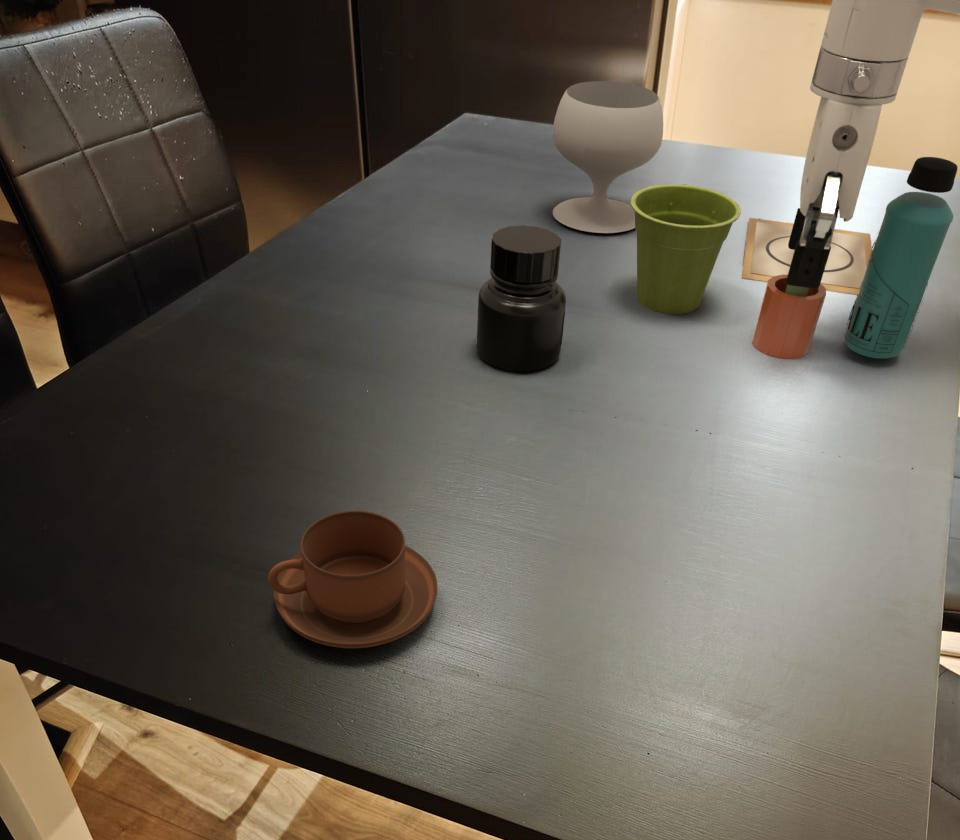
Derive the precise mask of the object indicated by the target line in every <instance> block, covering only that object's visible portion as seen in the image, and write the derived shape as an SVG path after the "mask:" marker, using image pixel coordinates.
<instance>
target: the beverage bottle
mask: <svg viewBox="0 0 960 840" xmlns="http://www.w3.org/2000/svg"><path fill="white" fill-rule="evenodd" d="M958 167H959V166H958V165H957V164H956V163H955V162H953V161H951V160H949V159H946V158H942V157H935V156H921V157H919V158H917V159H916V160H915V161H914V163H913V165H912V167H911V170H910V172H909V174H908V176H907V179H906V183H907V185H908V186H910V187H911V188H914V189H916V190H918V191H908V192H905V193H902V194H900V195H899V196H897V197H895V198H894V199H892V200H890V202H888V203H887V205H886V207H885V213H884V216H883V219H882V222H881V225H880V228H879V230H878V233H877V234H876V235H875V238H876V239H875V241H873V243H872V250H871V251H872V253H870V254H871V255H869V258H870V260H869V261H868V262H869V263H868V262H867V263H868V266H867V269H866V272H865V275H864V278H863V281H862V283H860V284H861V286H860V290H859V294H858V295H856V297H855V300H854V301H853V305H852V308H851V310H850V312H849V315H848V322H847V323H846V327H845V329H844V330H845V332H844V333H843V335H844V344H845V345H846V347H847V348H848V349H849V350H851V351H853V352H854V353H857V354H859V355H861V356H864V357H867V358H871V359H892V358H896V357H897V356H899V355H900V354H901V352H902V351H903V349H905V348H907V344H908V339H910V336H911V334H912V332H913V331H912V330H913V328H914V325H915V323H916V317H917V314H919V312H920V310H919V309H920V306H922V303H923V301H924V298H925V297H924V296H925V293H926V290H927V288H928V285H929V280H930V277H931V275H932V273H933V269H934V267H935V264H936V262H937V259H938V257H939V254H940V252H941V249H942V246H943V244H944V241H945V238H946V236H947V234H948V231H949V228H950V226H951V224H952V222H953V220H954V213H953V211H952V209H951V207H950V205H949V204H948V203H947V201H946V200H945V198H943V197H941V196H939V195H936V194H941V193H942V194H944V193H948V192H951V191H952V190H953V187H954V185H955V179H956V175H957V174H958ZM933 193H934V194H933ZM935 193H936V194H935ZM866 265H867V264H866Z"/></svg>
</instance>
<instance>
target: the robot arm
mask: <svg viewBox="0 0 960 840" xmlns="http://www.w3.org/2000/svg"><path fill="white" fill-rule="evenodd" d="M926 10H931V11H938V12H942V13H948V14H952V15H957V16H960V0H832V1H831V5H830V9H829V13H828V16H827V21H826V24H825V29H824V33H823V37H822V40H821V44H820V48H819V51H818V55H817V60H816V62H815V67H814V71H813V75H812V79H811V82H810V86H809V89H810V91H811V92H812V93H813V94H815V95H816V96H819V97H820V100H819V104H818V107H817V110H816V116H815V119H814V123H813V126H812V129H811V130H812V131H811V135H810V140H809V141H808V142H809V143H808V147H807V150H806V156H805V160H804V165H803V171H802V177H801V183H800V194H799V207H798V208H797V210H796V214H795V216H794V217H795V218H794V221H793V228H792V232H791V235H790V239H789V243H788V247H789V249H792V250H795V251H794V254H793V258H792V261H791V265H790V269H789V272H788V276H787V284H788V285H792V286H799V287H806V288H813V289H817V288H818V287H819V286H820V283H821V280H822V276H823V273H824V270H825V266H826V263H827V260H828V257H829V253H830V250H831V247H830V245H831V241H832V237H833V233H834V229H836V223H837V219H838V215H839V219H843V222H845V223H847V222H850V220H852V219H853V217H854V214H855V210H856V207H857V202H858V199H859V195H860V192H861V189H862V184H863V181H864V177H865V174H866V171H867V166H868V164H869V159H870V156H871V153H872V150H873V145H874V141H875V137H876V134H877V129H878V125H879V122H880V116H881V113H882V108H883V105H887V104H891V103H893V102H895V100H896V98H897V95H898V92H899V88H900V86H901V83H902V78H903V76H904V73H905V69H906V66H907V63H908V60H909V56H910V54H911V51H912V47H913V44H914V41H915V38H916V35H917V33H918V30H919V29H918V28H919V26H920V23H921V20H922V17H923V12H924V11H926ZM801 234H802V236H801ZM800 238H801V240H800ZM799 241H800V242H799Z"/></svg>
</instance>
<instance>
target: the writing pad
mask: <svg viewBox="0 0 960 840" xmlns="http://www.w3.org/2000/svg"><path fill="white" fill-rule="evenodd" d="M793 224H794V222H792V223H791V222H784V221H777V220H771V219H761V218H756V217H755V218H754V217H749V218H748V223H747V230H746V238H745V245H744V253H743V261H742V271H741V279H742V280H747V281H748V280H749V281H754V282H763V283H767V281H768V280H769V279H770V278H772V277H774V276H778V275H788V272H789V269H790V265H791V261H792V258H793V254H794V251H795V250H792V249H789V247H788V243H789V239H790V235H791V232H792V228H793ZM872 246H873V244H872V237H871V233H867V232H862V231H861V232H859V231H852V230H845V229H837V228H834V233H833V237H832V241H831V245H830V247H831V250H830V253H829V257H828V260H827V263H826V266H825V270H824V273H823V276H822V280H821V284H822V285H823V286H824V287H825V288H826V292H833V293H838V294H846V295H854V296H857V295H858V294H859V290H860V286H861V284H860V283H862V281H863V278H864V275H865V272H866V269H867V266H868V263H869V262H868V261H869V260H870V258H869V255H871V254H870V253H872V251H871V250H872V249H873V248H872ZM867 262H868V263H867ZM866 264H867V265H866Z"/></svg>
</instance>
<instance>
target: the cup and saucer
mask: <svg viewBox="0 0 960 840" xmlns="http://www.w3.org/2000/svg"><path fill="white" fill-rule="evenodd" d="M267 582H268V585H269V587H270V588H271V589H272V590H273V598H274V603H275V606H276V607H275V608H276V609H277V611H278V613H279V615H280V617H281V618H282V620H283V621H284V623H286V625H287V626H288V627H289V628H290V629H292V630H293V631H294V632H295V633H296V634H298V635H299V636H301V637H303V638H305V639H306V640H309V641H311V642H313V643H317V644H320V645H324V646H327V647H331V648H332V647H333V648H339V649H340V648H341V649H366V648H372V647H377V646H381V645H382V646H383V645H386V644H388V643H391V642H394V641H396V640H399V639H401V638H403V637H405V636H406V635H408V634H410V633H412V632H413V631H414V630H415V629H417V628H418V627H419V626H420V625H421V624H423V622H424V621H425V620H426V619H428V617H429V615H430V614H431V612H432V610H433V608H434V606H435V603H436V600H437V595H438V581H437V576H436V573H435V570H434V569H433V568H432V566H431V565H430V563H429V562H428V561H427V559H425V557H424V556H422V555H421V554H420V553H419V552H417V551H416V550H414V549H413V548H410V547H409V546H407V545H406V538H405V534H404V532H403V531H402V529H401V528H400V526H399V525H398V524H397V523H395V522H394V521H393V520H391V519H390V518H388V517H386V516H384V515H382V514H379V513H377V512H373V511H366V510H347V511H346V510H345V511H344V510H343V511H339V512H333V513H331V514H328V515H326V516H322V517H321V518H319V519H318V520H316V521H314V522H313V523H312V524H311V525H309V527H307V529H306V530H305V531H304V533H303V534H302V537H301V539H300V552H298V553H297V554H296V555H294V556H292V557H291V558H290V559H288V560H283V561H280V562H278V563H276V564H275V565H274V566H272V568H271V569H270V570H269V572H268V576H267Z"/></svg>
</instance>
